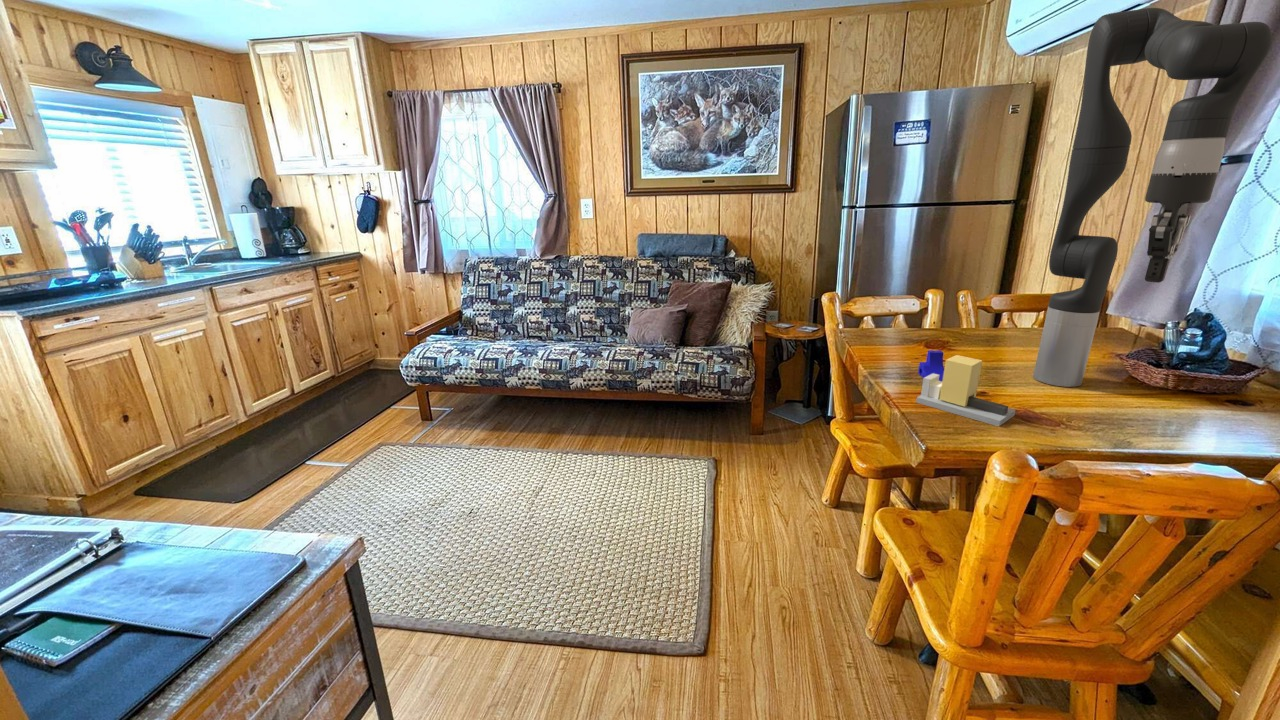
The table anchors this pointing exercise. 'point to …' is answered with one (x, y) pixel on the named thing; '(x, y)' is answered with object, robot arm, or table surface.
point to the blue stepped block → (932, 365)
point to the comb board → (973, 410)
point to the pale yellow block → (960, 379)
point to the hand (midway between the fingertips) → (1153, 281)
